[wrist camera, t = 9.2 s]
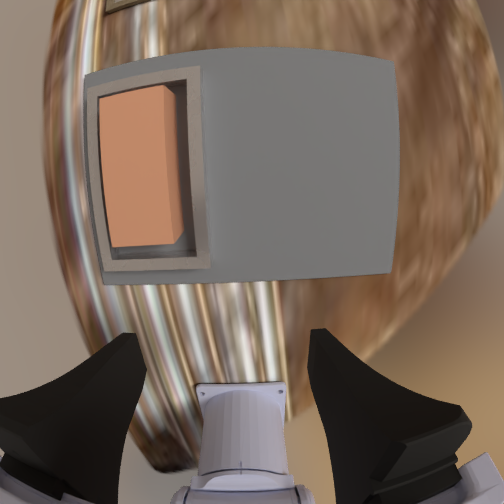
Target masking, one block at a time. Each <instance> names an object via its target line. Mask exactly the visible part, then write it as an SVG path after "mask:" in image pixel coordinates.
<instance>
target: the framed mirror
mask: <svg viewBox="0 0 504 504" xmlns="http://www.w3.org/2000/svg"><path fill="white" fill-rule="evenodd" d="M146 1H149V0H107V2H106V12H107V13H108V14H109V13H112V12H115V11H117V10H120V9H123V8H126V7H129V6H132V5H136V4H139V3H142V2H146Z"/></svg>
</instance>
